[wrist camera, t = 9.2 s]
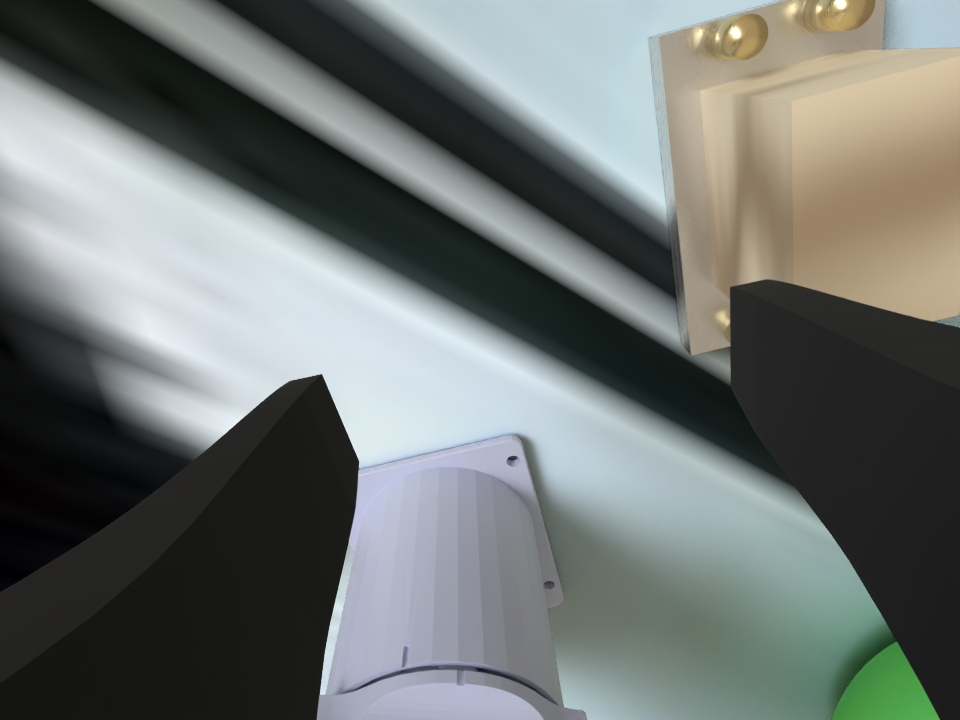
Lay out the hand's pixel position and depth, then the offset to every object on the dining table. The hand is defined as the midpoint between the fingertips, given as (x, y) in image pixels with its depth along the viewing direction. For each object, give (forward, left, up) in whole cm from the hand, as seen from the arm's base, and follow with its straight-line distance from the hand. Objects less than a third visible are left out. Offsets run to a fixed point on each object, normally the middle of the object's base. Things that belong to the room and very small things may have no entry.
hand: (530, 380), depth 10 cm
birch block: (0, -9, -9) cm, 12 cm away
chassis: (-1, -9, -10) cm, 13 cm away
